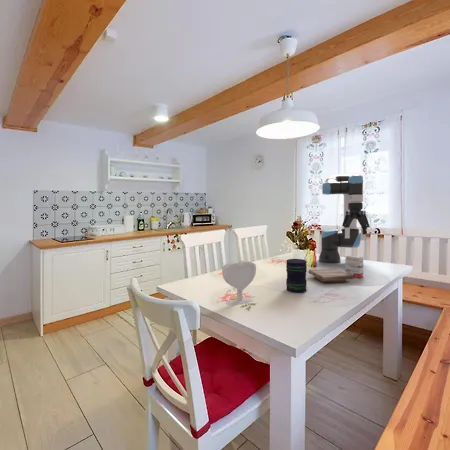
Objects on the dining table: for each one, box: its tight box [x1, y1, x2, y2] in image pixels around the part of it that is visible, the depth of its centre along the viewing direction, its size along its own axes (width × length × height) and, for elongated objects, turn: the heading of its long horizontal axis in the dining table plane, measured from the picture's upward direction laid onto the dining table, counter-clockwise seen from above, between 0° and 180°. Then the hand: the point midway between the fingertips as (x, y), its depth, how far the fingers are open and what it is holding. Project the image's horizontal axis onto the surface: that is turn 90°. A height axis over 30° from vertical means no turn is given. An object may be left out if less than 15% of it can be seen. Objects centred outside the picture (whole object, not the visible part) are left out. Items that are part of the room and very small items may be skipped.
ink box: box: [344, 255, 364, 279], centre depth 158 cm, size 8×5×12 cm, turn 39°
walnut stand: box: [308, 267, 354, 284], centre depth 153 cm, size 17×17×4 cm
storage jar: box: [285, 258, 308, 294], centre depth 135 cm, size 10×10×15 cm
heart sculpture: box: [221, 259, 257, 307], centre depth 120 cm, size 16×5×18 cm, turn 118°
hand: (354, 239), depth 156 cm, fingers open, 13 cm apart
